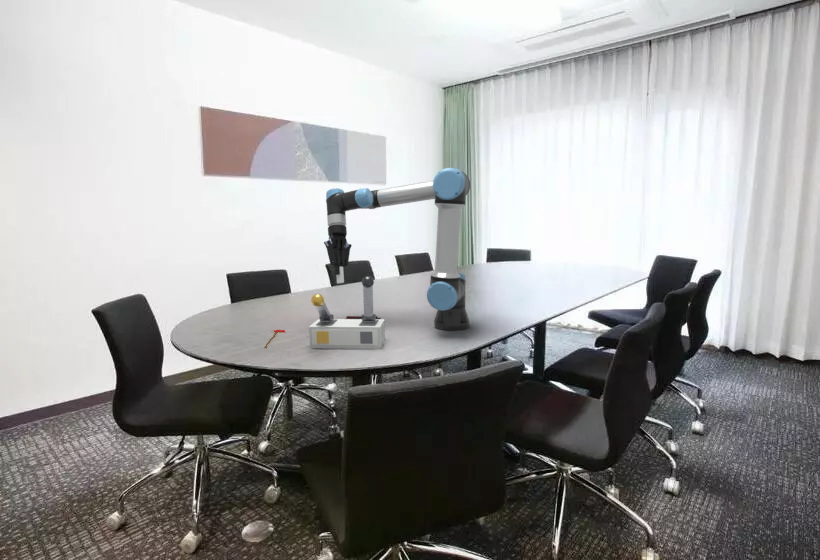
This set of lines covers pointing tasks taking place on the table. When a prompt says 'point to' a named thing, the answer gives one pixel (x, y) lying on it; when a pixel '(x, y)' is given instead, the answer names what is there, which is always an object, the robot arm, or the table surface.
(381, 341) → the console
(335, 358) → the table surface
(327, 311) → the lever amber
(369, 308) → the lever black
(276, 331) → the axe
